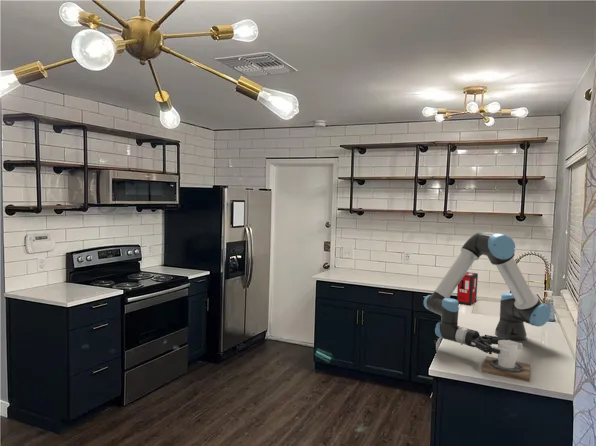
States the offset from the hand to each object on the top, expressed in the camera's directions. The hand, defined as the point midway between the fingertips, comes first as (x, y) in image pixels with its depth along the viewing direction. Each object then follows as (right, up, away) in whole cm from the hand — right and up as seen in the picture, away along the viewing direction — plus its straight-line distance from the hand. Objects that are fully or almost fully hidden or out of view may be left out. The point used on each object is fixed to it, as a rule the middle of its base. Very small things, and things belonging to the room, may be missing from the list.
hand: (515, 350), depth 190 cm
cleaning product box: (+25, -2, +122) cm, 124 cm away
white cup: (-2, -8, +3) cm, 9 cm away
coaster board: (-2, -9, +3) cm, 10 cm away
